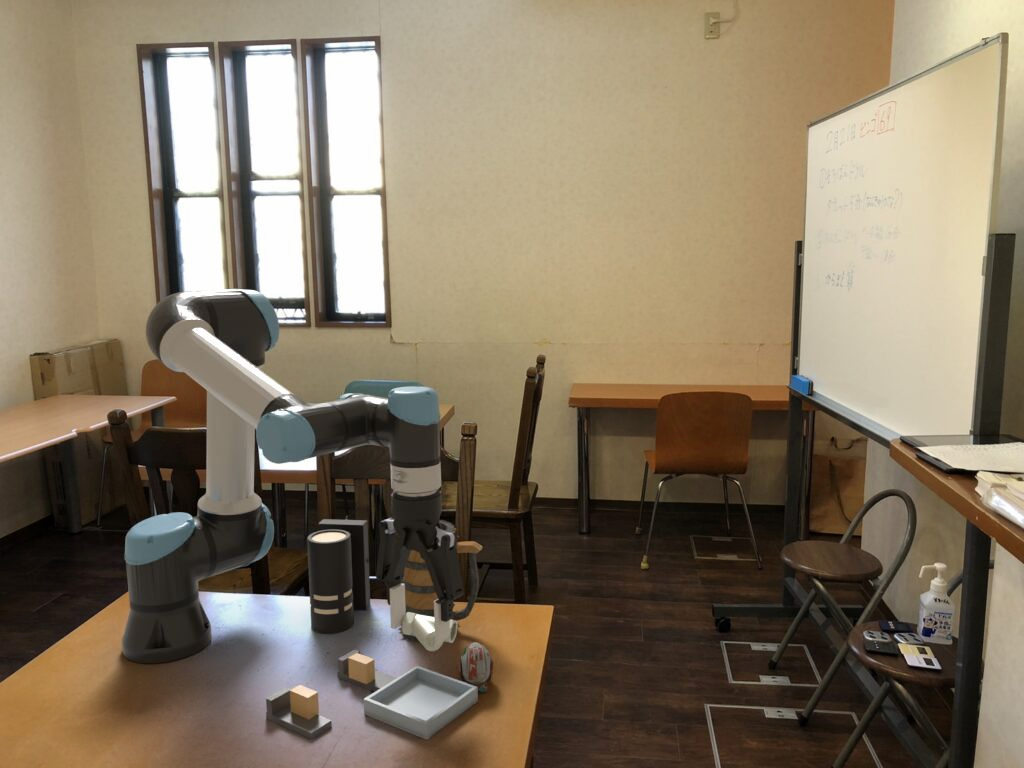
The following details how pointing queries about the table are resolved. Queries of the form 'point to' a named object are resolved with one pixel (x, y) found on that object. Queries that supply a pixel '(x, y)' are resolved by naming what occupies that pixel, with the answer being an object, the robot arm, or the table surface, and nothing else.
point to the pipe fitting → (426, 630)
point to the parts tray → (421, 701)
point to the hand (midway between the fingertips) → (420, 632)
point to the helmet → (476, 665)
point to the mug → (422, 588)
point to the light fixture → (338, 574)
